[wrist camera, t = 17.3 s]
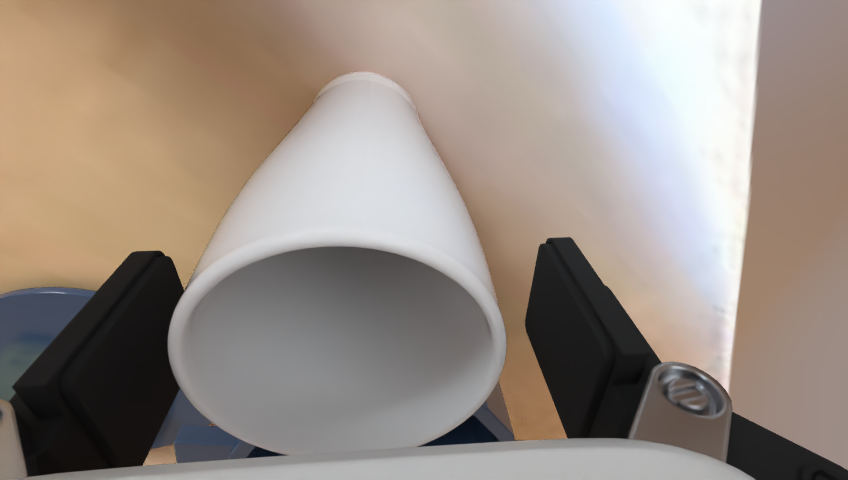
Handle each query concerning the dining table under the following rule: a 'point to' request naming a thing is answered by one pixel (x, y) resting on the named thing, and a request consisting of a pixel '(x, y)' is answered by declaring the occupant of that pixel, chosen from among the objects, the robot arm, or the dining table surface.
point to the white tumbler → (342, 289)
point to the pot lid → (40, 324)
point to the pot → (221, 445)
